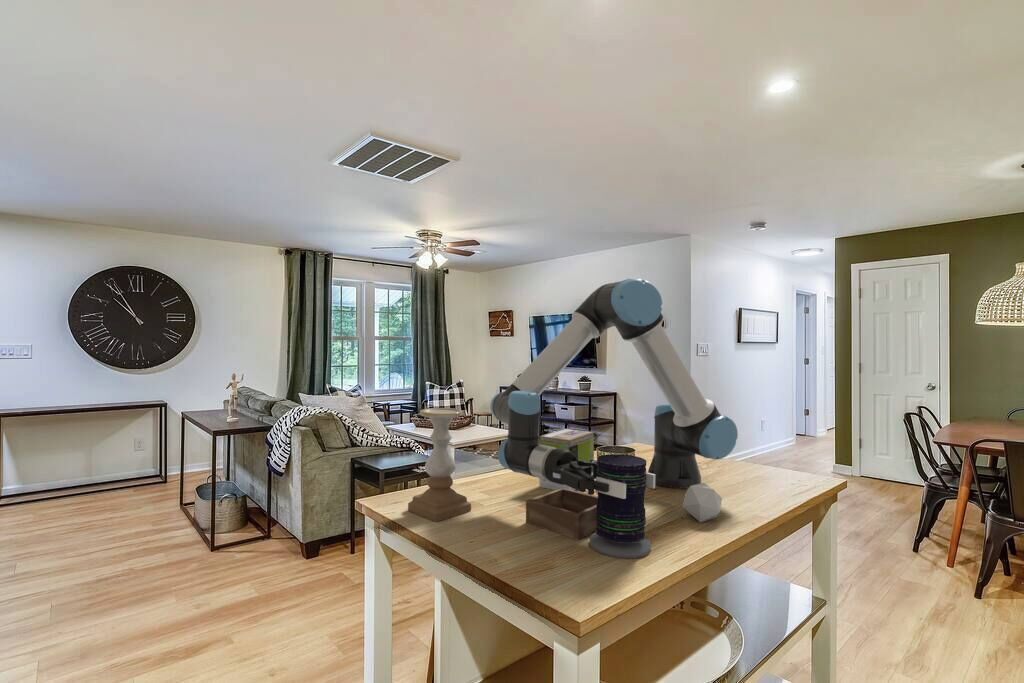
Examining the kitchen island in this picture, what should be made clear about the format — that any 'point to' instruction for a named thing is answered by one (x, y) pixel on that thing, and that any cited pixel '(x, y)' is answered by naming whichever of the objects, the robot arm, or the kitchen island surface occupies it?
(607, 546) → the rubber pad
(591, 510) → the walnut open box
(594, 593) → the kitchen island surface
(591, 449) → the tea box
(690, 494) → the die
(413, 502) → the candle holder
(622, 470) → the dark blue cylinder
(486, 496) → the kitchen island surface
